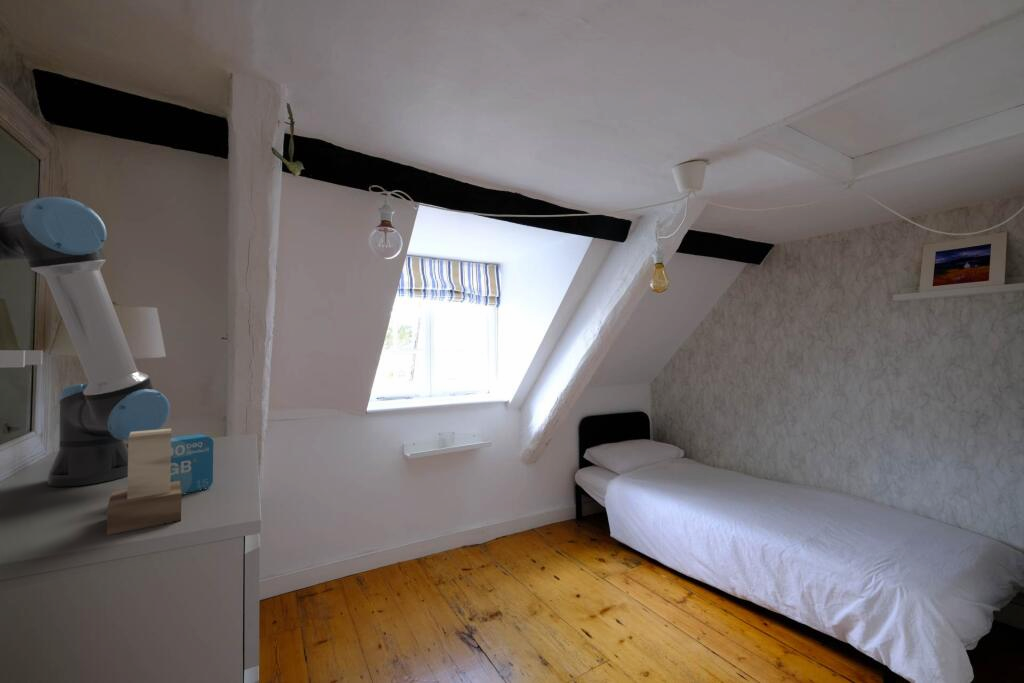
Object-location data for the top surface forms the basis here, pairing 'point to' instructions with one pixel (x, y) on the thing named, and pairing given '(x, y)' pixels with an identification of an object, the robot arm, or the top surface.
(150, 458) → the birch block
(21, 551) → the top surface
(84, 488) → the top surface
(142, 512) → the block
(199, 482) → the data package
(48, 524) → the top surface
